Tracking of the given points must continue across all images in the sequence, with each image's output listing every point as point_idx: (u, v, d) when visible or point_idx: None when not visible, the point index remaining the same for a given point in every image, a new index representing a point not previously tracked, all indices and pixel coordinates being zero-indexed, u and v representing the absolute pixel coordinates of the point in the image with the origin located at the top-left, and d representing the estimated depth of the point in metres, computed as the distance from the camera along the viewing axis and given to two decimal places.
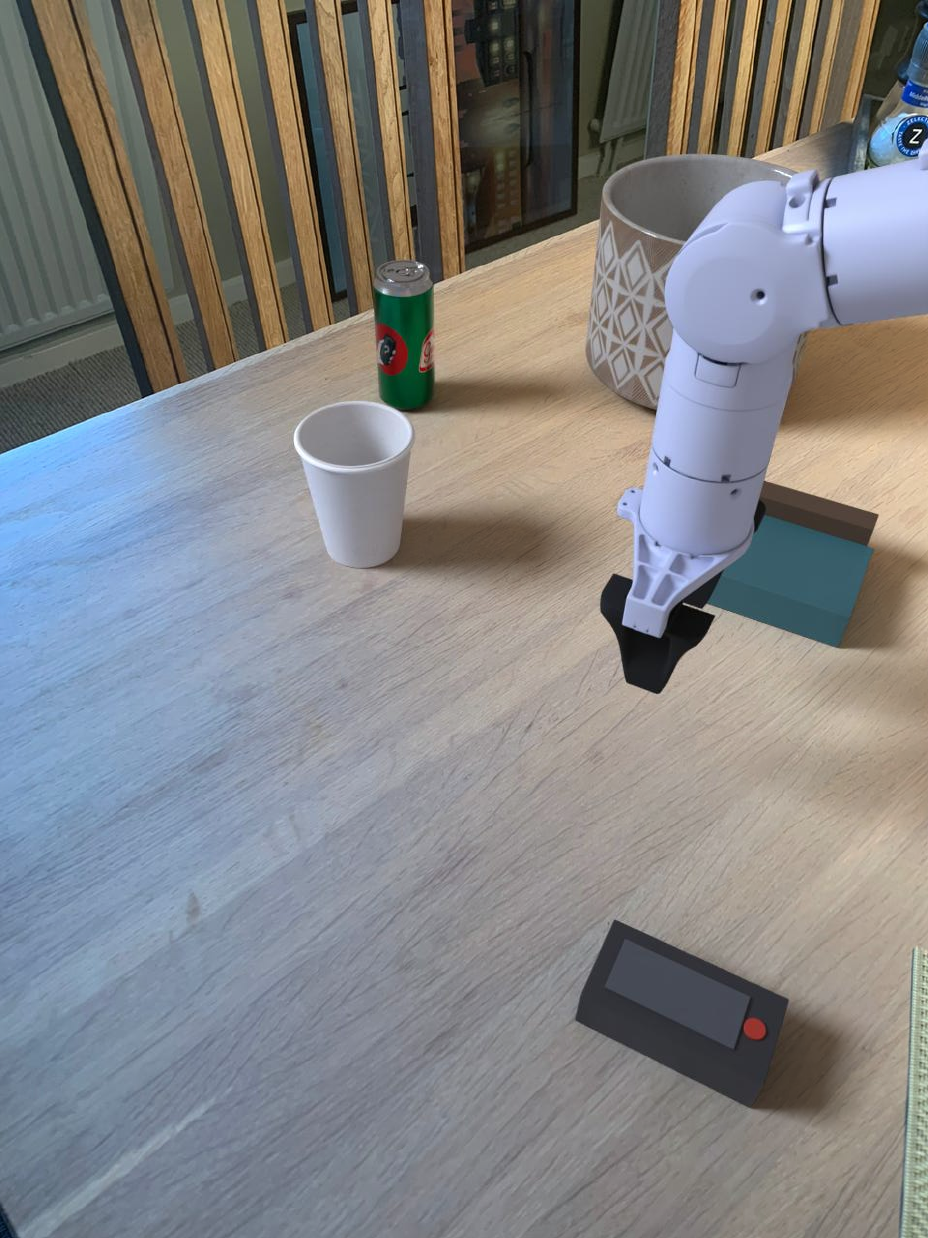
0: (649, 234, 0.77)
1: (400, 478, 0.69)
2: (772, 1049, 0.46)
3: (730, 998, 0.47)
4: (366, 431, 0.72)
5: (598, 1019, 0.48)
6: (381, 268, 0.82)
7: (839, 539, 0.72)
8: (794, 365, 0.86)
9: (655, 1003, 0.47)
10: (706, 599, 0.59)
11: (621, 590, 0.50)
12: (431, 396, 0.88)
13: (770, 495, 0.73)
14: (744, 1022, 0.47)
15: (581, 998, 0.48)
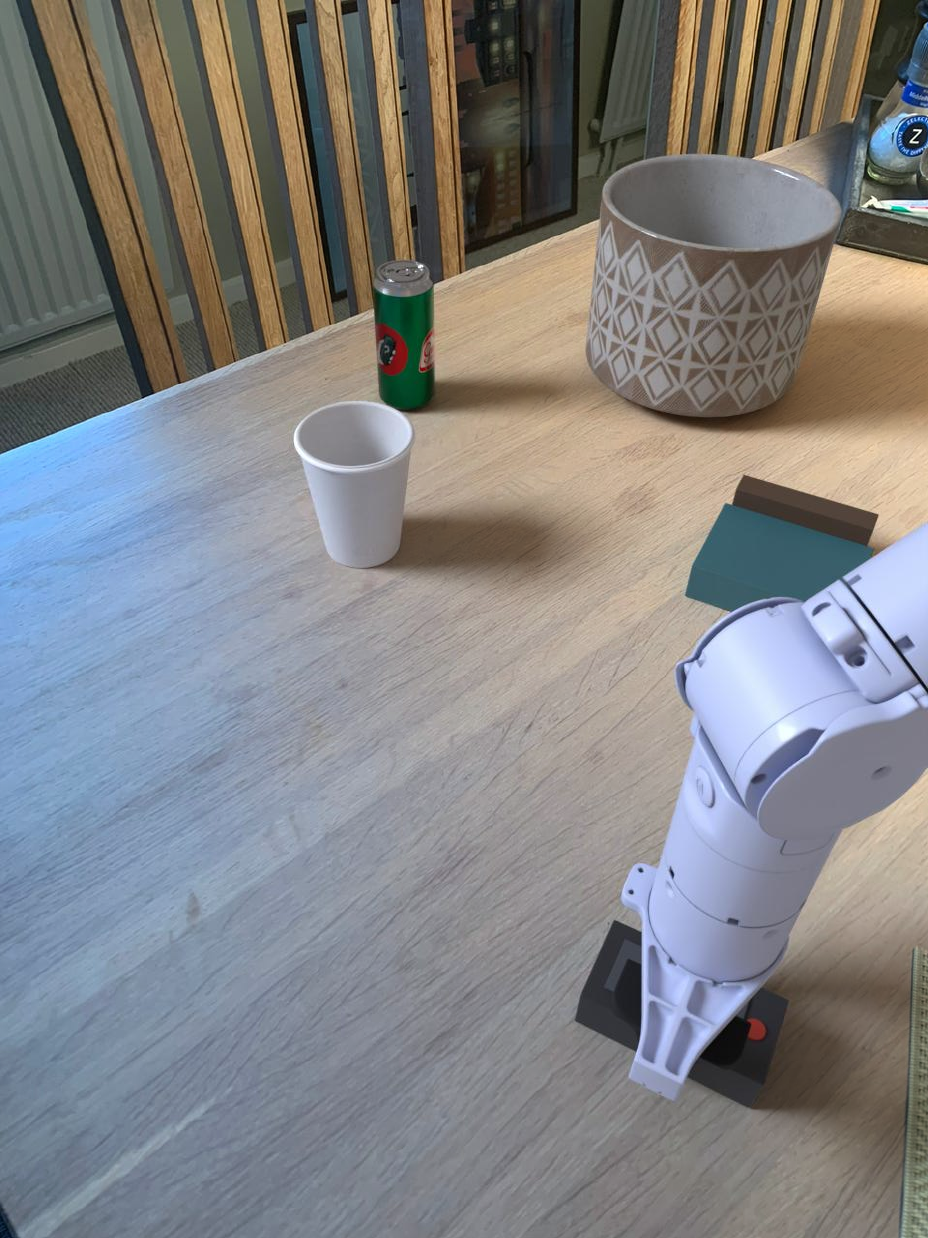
0: (649, 234, 0.77)
1: (400, 478, 0.69)
2: (772, 1049, 0.46)
3: None
4: (366, 431, 0.72)
5: (597, 1020, 0.48)
6: (381, 268, 0.82)
7: (839, 539, 0.72)
8: (794, 365, 0.86)
9: None
10: None
11: (637, 988, 0.42)
12: (431, 396, 0.88)
13: (770, 495, 0.73)
14: None
15: (581, 998, 0.48)
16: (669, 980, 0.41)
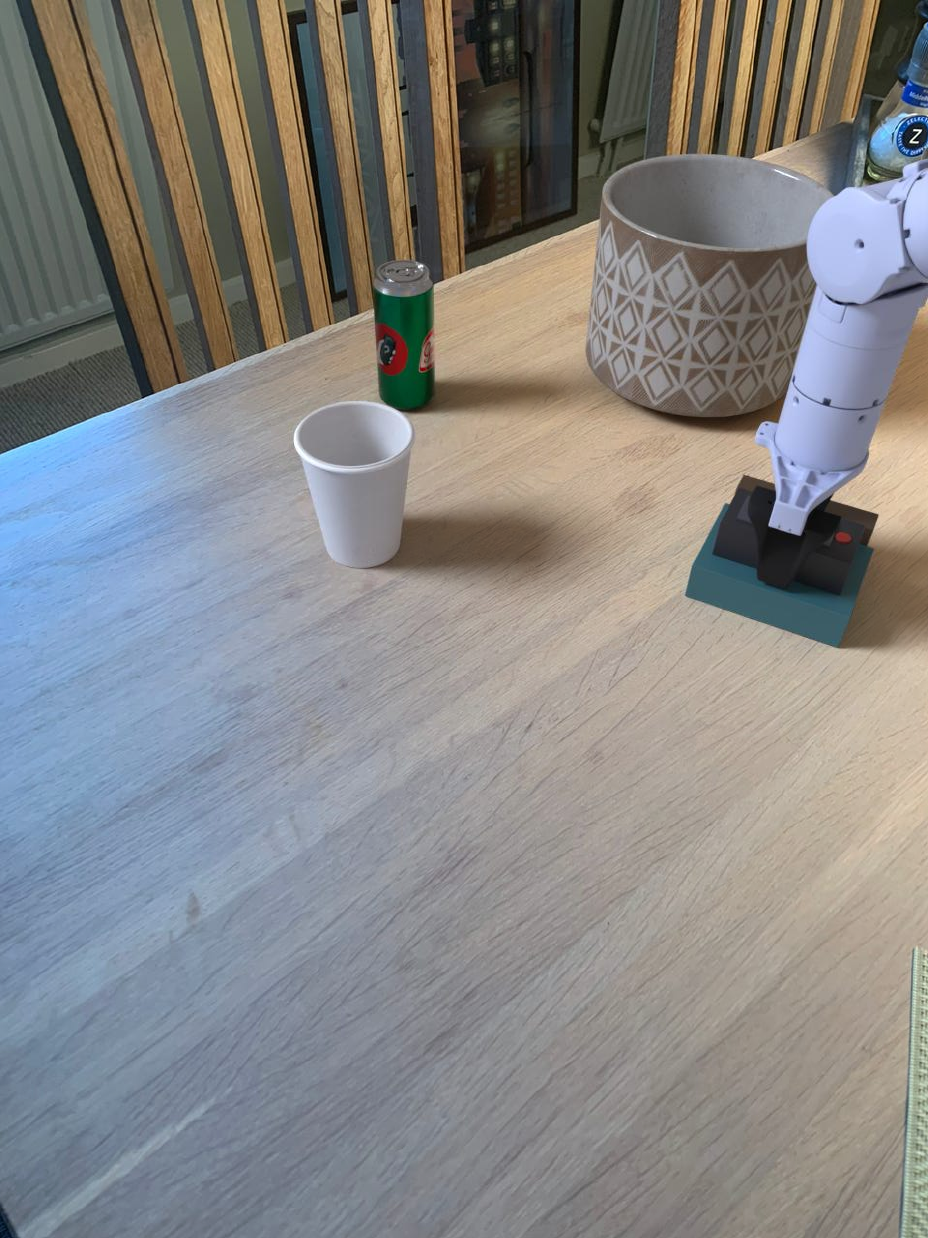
0: (649, 234, 0.77)
1: (400, 478, 0.69)
2: (856, 547, 0.66)
3: None
4: (366, 431, 0.72)
5: (730, 544, 0.69)
6: (381, 268, 0.82)
7: None
8: (794, 365, 0.86)
9: None
10: None
11: (765, 497, 0.63)
12: (431, 396, 0.88)
13: None
14: (836, 534, 0.67)
15: (720, 525, 0.68)
16: (792, 474, 0.62)
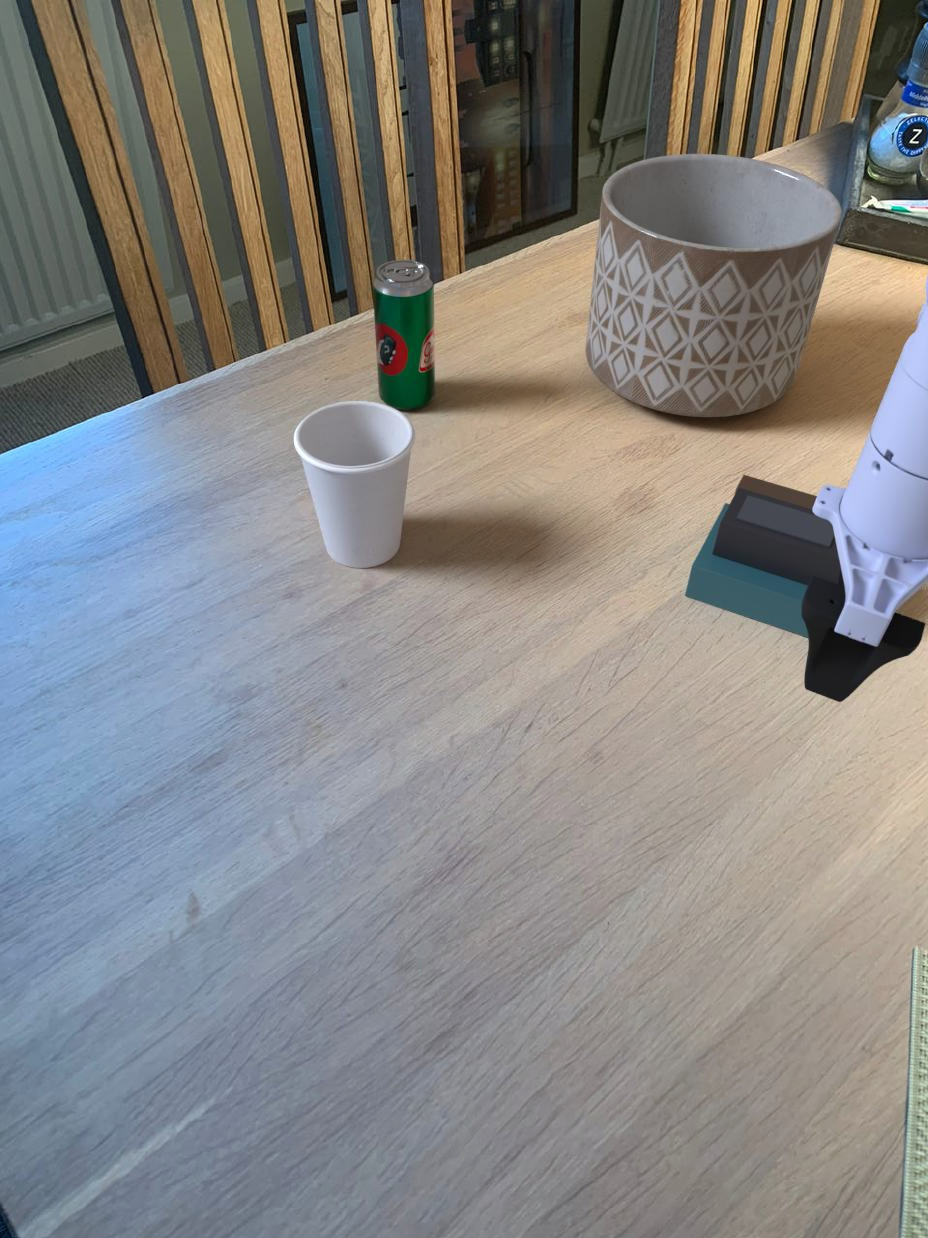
0: (649, 234, 0.77)
1: (400, 478, 0.69)
2: None
3: (825, 523, 0.68)
4: (366, 431, 0.72)
5: (730, 544, 0.69)
6: (381, 268, 0.82)
7: None
8: (794, 365, 0.86)
9: (773, 526, 0.68)
10: None
11: (824, 594, 0.48)
12: (431, 396, 0.88)
13: (770, 495, 0.73)
14: None
15: (720, 525, 0.68)
16: (864, 560, 0.47)
